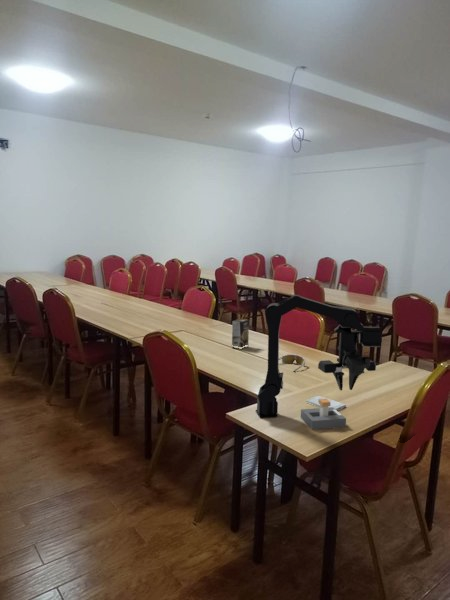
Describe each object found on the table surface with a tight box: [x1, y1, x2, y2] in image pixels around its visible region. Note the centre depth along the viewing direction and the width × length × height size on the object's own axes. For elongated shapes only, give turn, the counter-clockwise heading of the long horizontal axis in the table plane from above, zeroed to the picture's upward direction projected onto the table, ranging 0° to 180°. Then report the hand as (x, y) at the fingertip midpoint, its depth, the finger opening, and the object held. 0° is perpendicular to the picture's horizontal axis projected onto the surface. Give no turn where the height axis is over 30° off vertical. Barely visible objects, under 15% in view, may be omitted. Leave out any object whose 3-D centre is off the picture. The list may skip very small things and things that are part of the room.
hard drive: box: [305, 395, 347, 411], centre depth 165 cm, size 2×8×12 cm
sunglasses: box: [279, 353, 306, 373], centre depth 215 cm, size 14×15×5 cm
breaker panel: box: [300, 407, 347, 431], centre depth 148 cm, size 12×10×3 cm
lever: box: [318, 398, 330, 416], centre depth 148 cm, size 3×3×6 cm
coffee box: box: [231, 318, 250, 347], centre depth 252 cm, size 9×6×16 cm
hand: (345, 389), depth 149 cm, fingers open, 3 cm apart
